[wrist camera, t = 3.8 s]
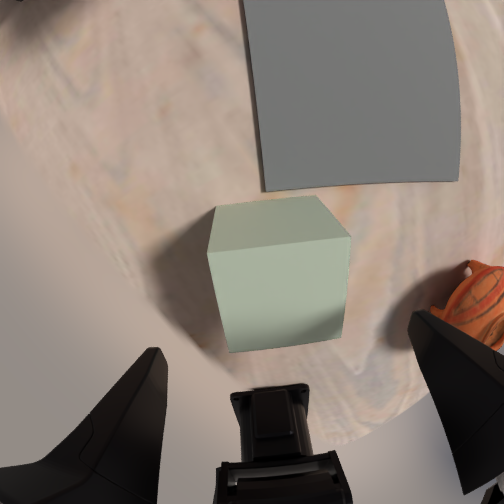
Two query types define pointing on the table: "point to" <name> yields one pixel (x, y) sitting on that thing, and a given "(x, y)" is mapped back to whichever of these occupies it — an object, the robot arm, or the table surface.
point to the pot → (478, 305)
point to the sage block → (279, 272)
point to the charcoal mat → (354, 91)
